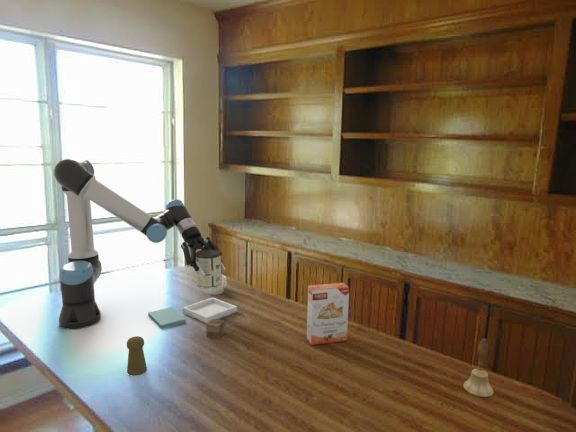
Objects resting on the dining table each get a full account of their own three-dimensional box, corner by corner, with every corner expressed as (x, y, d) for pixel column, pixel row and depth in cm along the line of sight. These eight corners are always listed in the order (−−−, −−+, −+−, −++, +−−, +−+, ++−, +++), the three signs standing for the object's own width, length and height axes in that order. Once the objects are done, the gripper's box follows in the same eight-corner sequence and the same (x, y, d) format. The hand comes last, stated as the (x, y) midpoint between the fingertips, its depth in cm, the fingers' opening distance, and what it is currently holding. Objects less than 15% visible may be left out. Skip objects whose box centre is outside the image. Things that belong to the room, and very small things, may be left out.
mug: (214, 295, 201) (214, 279, 200) (203, 291, 207) (203, 275, 205) (230, 290, 209) (229, 274, 207) (219, 286, 214) (218, 271, 212)
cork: (140, 363, 140) (138, 332, 138) (150, 370, 137) (149, 337, 135) (123, 371, 136) (121, 338, 134) (133, 378, 132) (131, 344, 130)
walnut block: (218, 338, 158) (218, 326, 158) (206, 336, 160) (206, 324, 159) (225, 333, 163) (224, 320, 162) (213, 331, 165) (213, 318, 164)
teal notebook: (161, 330, 166) (161, 325, 166) (148, 317, 178) (148, 312, 178) (185, 323, 172) (185, 319, 172) (171, 311, 184) (171, 307, 184)
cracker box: (311, 346, 153) (312, 290, 149) (306, 338, 159) (307, 284, 155) (348, 341, 157) (349, 286, 153) (341, 334, 162) (343, 281, 159)
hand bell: (485, 381, 132) (489, 332, 129) (499, 397, 124) (504, 345, 121) (458, 381, 131) (462, 332, 129) (470, 397, 123) (475, 345, 120)
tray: (207, 323, 171) (207, 317, 170) (183, 313, 181) (182, 307, 181) (237, 311, 183) (236, 306, 182) (212, 302, 193) (212, 297, 193)
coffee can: (200, 280, 186) (200, 248, 183) (224, 281, 185) (223, 249, 182) (193, 288, 175) (192, 255, 173) (218, 289, 174) (217, 256, 172)
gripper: (169, 229, 174) (195, 275, 166) (213, 222, 191) (238, 262, 183) (162, 240, 178) (187, 285, 171) (206, 231, 195) (230, 272, 188)
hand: (213, 273), depth 177 cm, fingers closed on coffee can, 10 cm apart
